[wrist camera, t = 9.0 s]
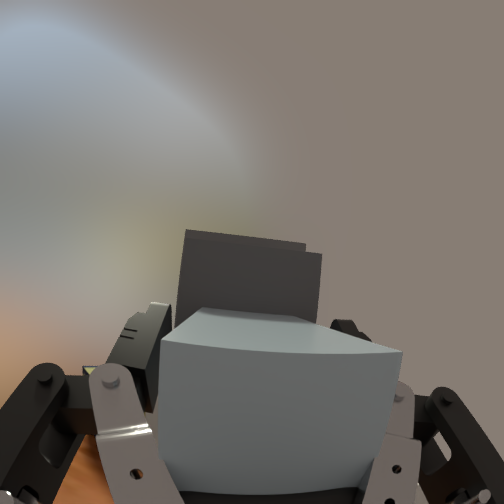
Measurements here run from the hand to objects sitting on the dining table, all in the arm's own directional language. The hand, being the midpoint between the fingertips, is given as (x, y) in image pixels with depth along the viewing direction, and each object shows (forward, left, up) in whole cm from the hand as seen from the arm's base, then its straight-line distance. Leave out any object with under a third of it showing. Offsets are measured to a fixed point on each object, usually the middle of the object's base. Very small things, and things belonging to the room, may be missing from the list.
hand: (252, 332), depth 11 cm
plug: (+2, +2, -3) cm, 4 cm away
